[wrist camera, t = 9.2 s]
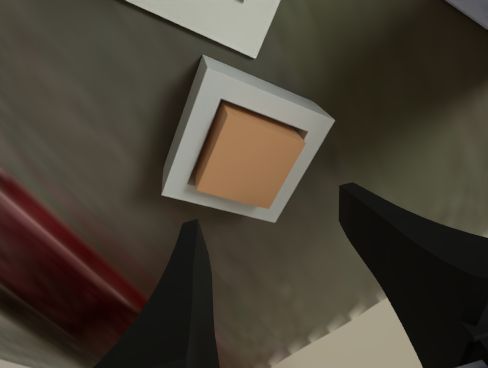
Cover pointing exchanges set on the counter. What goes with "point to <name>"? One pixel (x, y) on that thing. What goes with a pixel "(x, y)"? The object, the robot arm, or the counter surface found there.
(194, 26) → the picture board
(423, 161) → the counter surface
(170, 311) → the robot arm
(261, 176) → the button
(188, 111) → the button housing
